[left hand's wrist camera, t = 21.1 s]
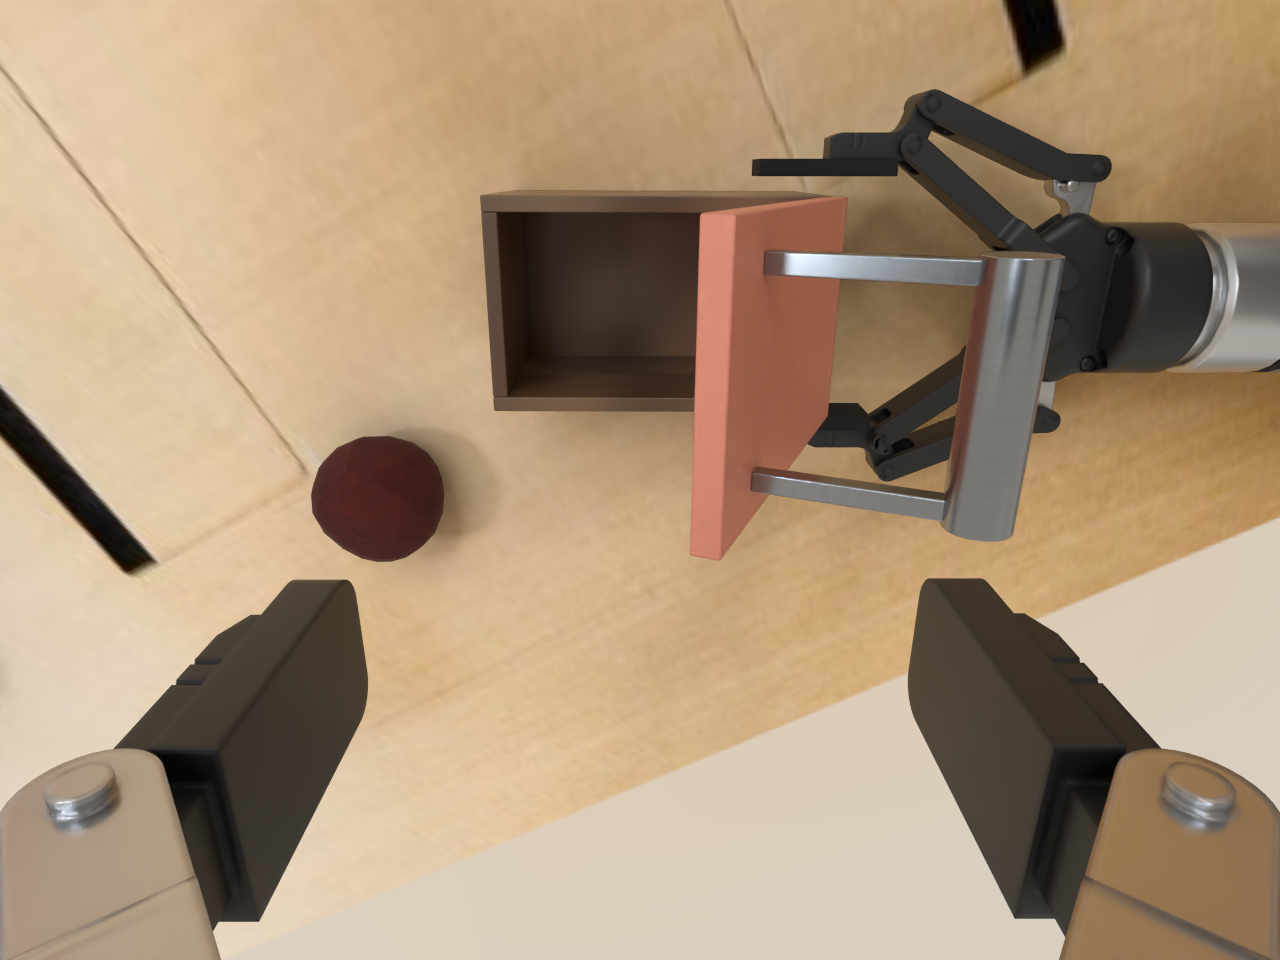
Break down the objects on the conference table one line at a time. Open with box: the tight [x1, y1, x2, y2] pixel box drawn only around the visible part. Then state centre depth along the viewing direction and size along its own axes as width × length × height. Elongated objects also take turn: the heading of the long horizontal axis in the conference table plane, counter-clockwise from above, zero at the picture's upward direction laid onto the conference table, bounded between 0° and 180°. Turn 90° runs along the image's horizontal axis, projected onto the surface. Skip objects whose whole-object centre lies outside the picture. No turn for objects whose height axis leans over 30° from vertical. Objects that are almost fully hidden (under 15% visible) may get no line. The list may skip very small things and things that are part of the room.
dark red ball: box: [311, 436, 444, 562], centre depth 48 cm, size 7×8×7 cm
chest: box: [480, 190, 832, 412], centre depth 42 cm, size 16×10×10 cm, turn 90°
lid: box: [690, 197, 1065, 560], centre depth 28 cm, size 17×10×9 cm
